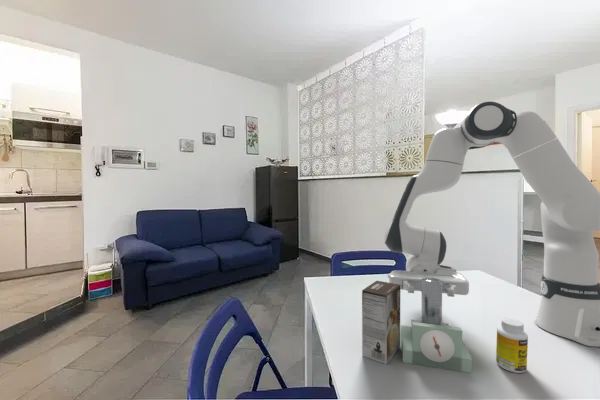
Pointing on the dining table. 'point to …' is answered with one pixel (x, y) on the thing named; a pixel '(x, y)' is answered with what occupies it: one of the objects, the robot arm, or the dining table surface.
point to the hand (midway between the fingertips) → (430, 291)
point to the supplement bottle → (512, 346)
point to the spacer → (431, 301)
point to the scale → (435, 347)
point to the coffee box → (381, 321)
